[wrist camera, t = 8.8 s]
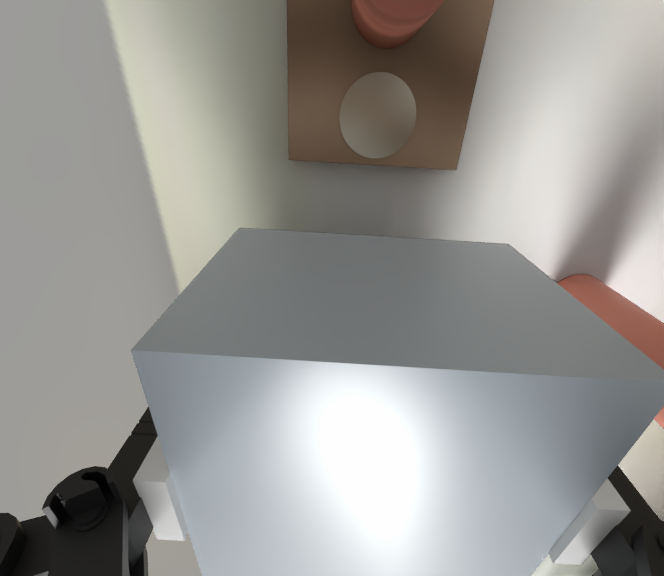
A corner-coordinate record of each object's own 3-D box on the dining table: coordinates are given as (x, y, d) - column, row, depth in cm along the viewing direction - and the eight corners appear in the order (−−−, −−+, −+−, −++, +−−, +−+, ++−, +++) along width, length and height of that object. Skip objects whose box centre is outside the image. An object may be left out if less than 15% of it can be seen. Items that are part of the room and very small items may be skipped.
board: (450, 167, 16) (500, 192, 11) (291, 157, 16) (266, 178, 11) (497, -52, 12) (608, -174, 7) (290, -64, 13) (250, -192, 7)
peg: (587, 321, 20) (772, 480, 12) (536, 318, 20) (682, 474, 12) (611, 276, 19) (844, 419, 10) (556, 272, 19) (741, 412, 10)
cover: (447, 424, 17) (507, 605, 11) (255, 413, 17) (205, 586, 11) (508, 243, 12) (681, 383, 6) (238, 227, 12) (130, 350, 6)
